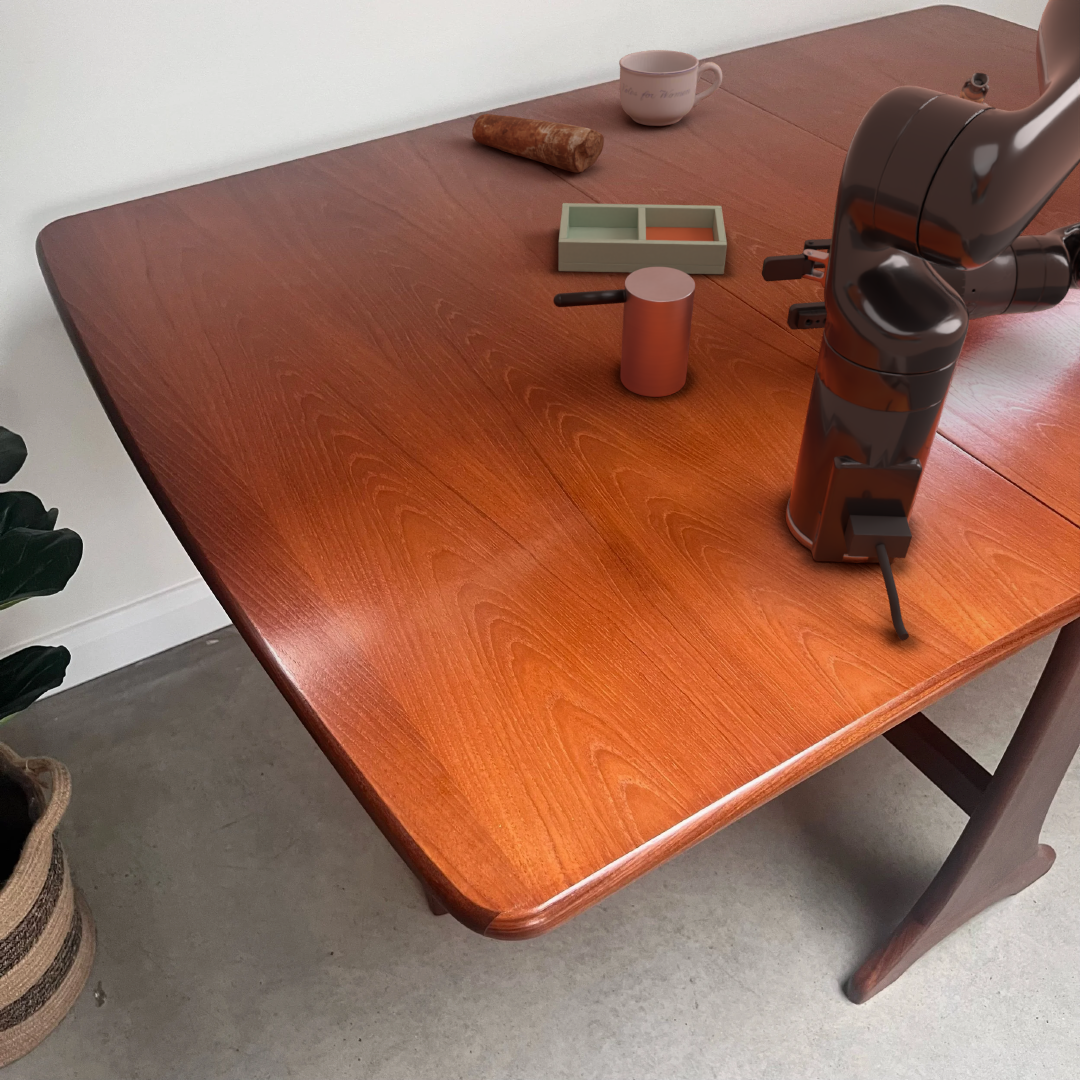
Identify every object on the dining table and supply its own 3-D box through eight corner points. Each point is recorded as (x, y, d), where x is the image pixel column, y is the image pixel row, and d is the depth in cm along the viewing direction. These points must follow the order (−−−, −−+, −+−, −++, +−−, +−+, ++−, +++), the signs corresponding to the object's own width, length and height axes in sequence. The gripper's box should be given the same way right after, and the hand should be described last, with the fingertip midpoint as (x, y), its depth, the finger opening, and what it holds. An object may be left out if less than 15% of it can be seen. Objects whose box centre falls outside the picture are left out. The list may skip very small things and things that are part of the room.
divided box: (723, 274, 113) (727, 244, 111) (558, 271, 114) (558, 241, 112) (718, 234, 120) (721, 205, 118) (562, 231, 121) (562, 202, 119)
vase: (985, 124, 143) (997, 79, 139) (944, 118, 145) (955, 74, 140) (991, 111, 146) (1003, 66, 142) (951, 105, 148) (962, 61, 144)
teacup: (608, 129, 143) (610, 68, 138) (627, 100, 151) (629, 42, 145) (709, 139, 140) (715, 78, 135) (722, 110, 148) (729, 51, 142)
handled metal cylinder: (678, 358, 101) (686, 264, 95) (692, 394, 97) (702, 298, 90) (549, 367, 100) (549, 273, 94) (557, 404, 96) (557, 308, 89)
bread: (579, 183, 131) (580, 139, 127) (464, 147, 139) (462, 105, 135) (608, 166, 134) (610, 122, 130) (495, 132, 143) (493, 90, 139)
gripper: (929, 206, 98) (760, 217, 97) (993, 281, 88) (805, 295, 86) (910, 278, 103) (750, 290, 102) (970, 357, 93) (792, 371, 92)
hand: (776, 292), depth 94 cm, fingers open, 8 cm apart
